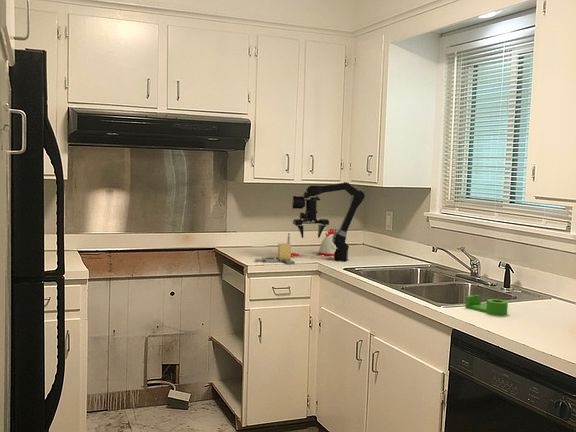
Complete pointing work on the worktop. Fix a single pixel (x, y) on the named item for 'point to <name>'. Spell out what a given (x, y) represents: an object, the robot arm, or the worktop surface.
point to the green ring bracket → (492, 305)
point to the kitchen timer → (328, 245)
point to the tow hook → (288, 243)
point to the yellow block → (284, 251)
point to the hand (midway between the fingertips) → (310, 238)
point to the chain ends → (274, 260)
